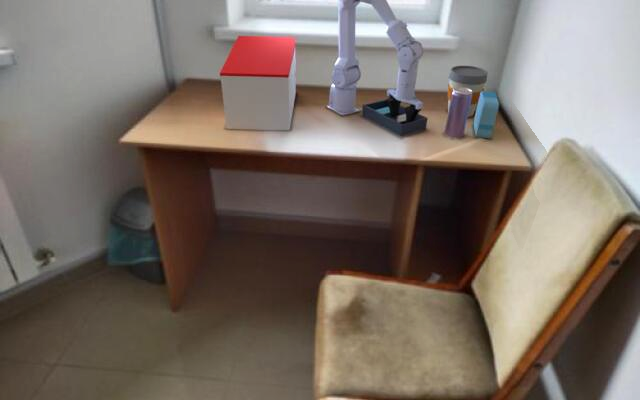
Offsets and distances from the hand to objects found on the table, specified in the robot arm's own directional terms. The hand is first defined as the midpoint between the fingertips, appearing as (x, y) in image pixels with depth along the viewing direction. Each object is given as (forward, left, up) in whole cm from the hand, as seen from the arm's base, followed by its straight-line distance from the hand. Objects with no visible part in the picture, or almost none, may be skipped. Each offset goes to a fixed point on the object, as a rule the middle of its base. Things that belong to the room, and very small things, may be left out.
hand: (401, 122), depth 145 cm
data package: (+17, +20, -2) cm, 27 cm away
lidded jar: (+2, +27, -2) cm, 28 cm away
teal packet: (-8, 0, -1) cm, 8 cm away
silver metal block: (0, 0, -1) cm, 1 cm away
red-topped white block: (-37, -32, -2) cm, 49 cm away
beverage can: (+14, +10, -2) cm, 17 cm away
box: (-4, 0, -2) cm, 4 cm away
